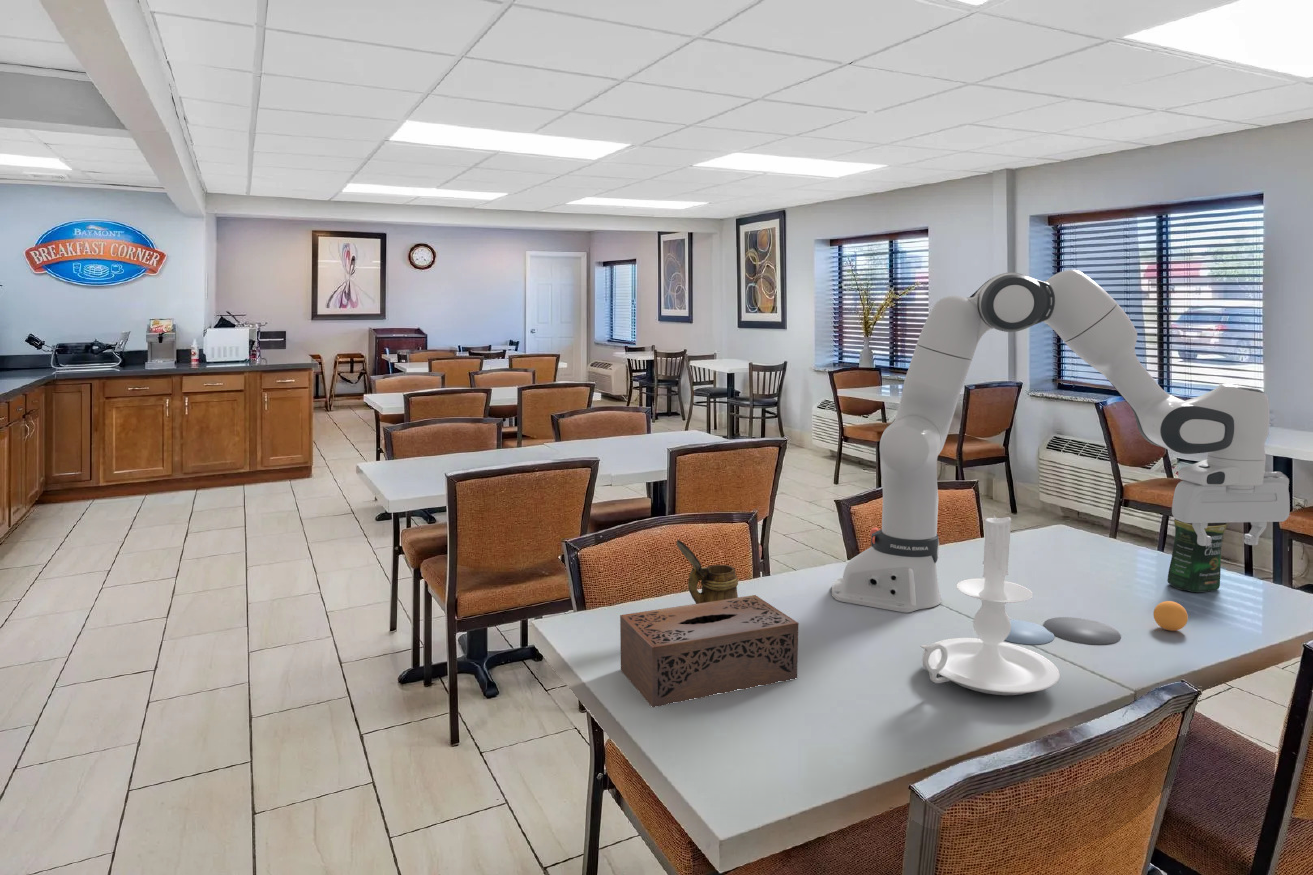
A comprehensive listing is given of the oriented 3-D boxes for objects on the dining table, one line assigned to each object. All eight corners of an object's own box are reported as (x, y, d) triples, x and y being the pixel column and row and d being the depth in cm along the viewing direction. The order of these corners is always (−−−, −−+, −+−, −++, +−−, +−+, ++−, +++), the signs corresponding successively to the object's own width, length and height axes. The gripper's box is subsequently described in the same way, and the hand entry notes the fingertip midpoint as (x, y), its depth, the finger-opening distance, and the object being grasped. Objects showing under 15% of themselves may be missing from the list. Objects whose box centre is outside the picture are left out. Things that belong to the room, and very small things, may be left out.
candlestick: (876, 671, 135) (883, 509, 131) (986, 647, 145) (995, 495, 141) (969, 728, 116) (980, 541, 112) (1088, 695, 126) (1102, 522, 122)
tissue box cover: (652, 709, 123) (652, 647, 121) (620, 671, 136) (620, 615, 135) (797, 680, 132) (798, 622, 131) (754, 647, 146) (755, 594, 144)
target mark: (1048, 639, 148) (1048, 638, 148) (1039, 615, 160) (1039, 614, 160) (1128, 648, 144) (1128, 647, 144) (1112, 622, 156) (1112, 621, 156)
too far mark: (987, 639, 148) (987, 638, 148) (982, 616, 159) (982, 616, 159) (1059, 648, 144) (1059, 647, 144) (1049, 623, 155) (1049, 623, 155)
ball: (1156, 633, 151) (1159, 605, 150) (1148, 622, 156) (1151, 595, 155) (1190, 636, 149) (1193, 608, 148) (1181, 626, 154) (1184, 598, 154)
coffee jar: (1192, 595, 171) (1201, 510, 168) (1160, 583, 179) (1168, 502, 176) (1227, 591, 174) (1236, 507, 171) (1194, 580, 181) (1202, 499, 178)
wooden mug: (667, 623, 157) (667, 533, 154) (729, 613, 162) (730, 526, 159) (686, 639, 148) (686, 545, 146) (750, 629, 153) (751, 537, 151)
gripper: (1275, 468, 152) (1268, 539, 154) (1169, 469, 151) (1163, 540, 153) (1303, 474, 145) (1295, 548, 147) (1193, 476, 145) (1186, 550, 147)
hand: (1227, 544), depth 150 cm, fingers open, 8 cm apart
